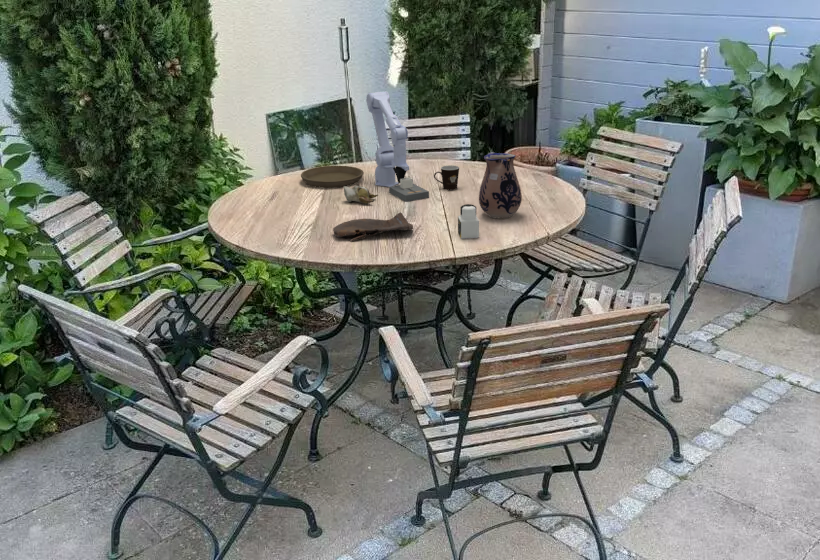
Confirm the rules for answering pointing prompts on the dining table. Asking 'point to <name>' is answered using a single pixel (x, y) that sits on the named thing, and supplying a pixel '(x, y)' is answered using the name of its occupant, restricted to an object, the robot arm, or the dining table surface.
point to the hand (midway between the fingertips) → (400, 182)
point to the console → (409, 193)
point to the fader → (406, 183)
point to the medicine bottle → (468, 222)
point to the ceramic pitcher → (500, 186)
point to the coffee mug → (449, 177)
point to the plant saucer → (332, 176)
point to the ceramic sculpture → (358, 194)
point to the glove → (371, 226)
